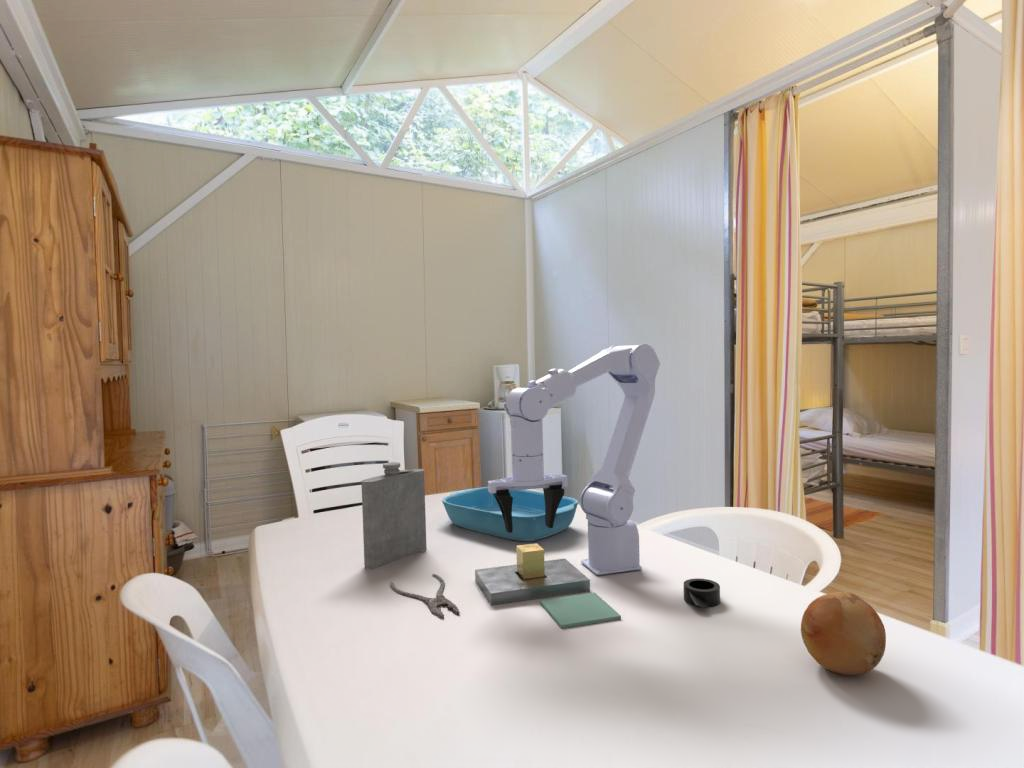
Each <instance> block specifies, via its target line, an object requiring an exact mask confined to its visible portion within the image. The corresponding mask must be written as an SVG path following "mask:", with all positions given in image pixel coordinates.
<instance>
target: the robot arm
mask: <svg viewBox="0 0 1024 768" xmlns="http://www.w3.org/2000/svg"><path fill="white" fill-rule="evenodd" d="M660 366H661V362H660V360H659V357H658V355H657V353H656V350H655V348H654V347H652V346H651V345H650V344H648V343H640V344H633V345H632V344H631V345H629V344H627V345H618V344H617V345H616V344H615V345H611V346H609V347H608V348H604V349H601V351H600V352H598V353H597V354H595V355H593V356H591V357H590V358H588V359H586V360H584V361H583V362H581V363H580V364H578V365H575V367H573V368H571V369H569V370H568V371H567V370H565V369H563V368H551V369H549V370H547V372H548V374H546V375H545V376H542V377H541V378H538V379H536V380H535V379H534V380H533V379H532V380H530V381H528V382H527V386H526V387H516V388H513V389H512V390H511V391H510V392H509V394H507V397H506V399H505V402H504V403H503V408H504V411H505V413H506V414H507V416H508V418H509V425H510V442H511V443H510V446H511V447H510V449H511V477H504V478H501V479H493V480H488V481H487V487H488V492H489V493H491V494H492V493H493V495H494V497H495V499H496V501H497V503H498V505H499V507H500V510H501V513H502V516H503V519H504V523H505V528H506V531H507V532H508V533H512V531H513V525H512V502H513V497H512V496H510V493H509V491H515V490H536V489H537V490H538V489H542V491H543V493H544V498H545V522H546V526H547V527H549V528H553V524H554V519H555V515H556V512H557V509H558V506H559V504H560V501H561V499H562V498H563V496H565V489H564V488H568V486H569V481H568V480H569V479H568V475H565V474H563V473H562V474H545V473H544V472H545V470H544V469H545V468H544V462H545V461H544V436H543V435H544V431H543V420H544V418H545V417H546V416H547V415H548V411H549V410H550V409H552V408H554V407H556V406H558V405H560V404H561V403H563V402H565V401H566V400H568V399H570V398H572V397H574V396H575V395H576V392H577V388H578V387H579V386H581V385H583V384H585V383H588V382H590V381H592V380H594V379H596V378H598V377H601V376H602V375H604V374H608V375H609V376H610V377H611V378H612V379H613V380H614V382H615V384H617V385H618V386H619V387H620V389H621V390H622V392H623V394H624V398H623V400H622V404H621V406H620V407H621V408H620V410H619V413H618V417H617V420H616V422H615V426H614V429H613V432H612V435H611V438H610V441H609V444H608V446H607V450H606V453H605V456H604V460H603V463H602V466H601V469H599V470H598V471H597V472H595V473H594V474H593V475H591V476H590V479H589V481H588V483H587V485H586V486H585V487H584V488H583V490H582V492H581V493H580V496H579V505H580V508H581V510H582V511H583V513H584V514H585V519H586V520H587V545H588V546H587V548H588V549H587V550H588V558H586V559H581V560H580V562H581V563H582V564H583V566H585V567H587V568H588V570H590V571H591V572H593V574H595V575H596V576H602V575H608V574H610V575H611V574H616V573H623V572H624V573H625V572H630V571H631V572H632V571H637V570H638V571H639V570H642V566H641V565H640V564H641V563H640V533H639V529H638V526H637V524H636V523H635V521H634V520H632V519H630V518H631V517H632V514H633V513H634V512H633V511H634V496H635V492H636V490H635V487H634V486H633V484H632V482H631V480H630V479H629V477H630V473H631V471H632V467H633V464H634V462H635V461H634V460H635V457H636V455H637V451H638V449H639V445H640V443H641V439H642V436H643V433H644V429H645V427H646V424H647V420H648V417H649V414H650V411H651V408H652V405H653V401H654V399H655V395H656V378H657V374H658V372H659V369H660Z"/></svg>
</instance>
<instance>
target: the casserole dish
mask: <svg viewBox="0 0 1024 768" xmlns="http://www.w3.org/2000/svg"><path fill="white" fill-rule="evenodd" d="M509 493H510V496H512V497H513V502H512V525H513V531H512V533H508V532H507V531H506V528H505V523H504V519H503V516H502V513H501V510H500V507H499V505H498V503H497V501H496V499H495V497H494V495H493V493H492V494H491V493H489V492H488V486H483V487H476V488H467V489H462V490H459V491H455V492H451V493H450V494H449V495H447V496H445V497H443V498H442V499H441V502H442V504H443V506H444V510H445V511H446V514H447V516H448V518H449V520H450V521H451V523H453V525H455V526H458V527H460V528H463V529H467V530H470V531H473V530H474V532H478V533H482V534H486V535H489V534H490V536H493V535H494V536H493V537H497V536H498V538H503V539H508V540H510V541H517V542H535V541H539V540H541V539H545V538H548V537H551V536H553V535H556V534H558V533H561V532H563V531H565V530H567V528H568V527H570V525H571V524H572V522H573V520H574V518H575V514H576V511H577V508H578V504H579V500H578V499H576V498H573V497H569V496H565V495H564V496H563V498H562V499H561V501H560V504H559V506H558V509H557V512H556V515H555V519H554V524H553V528H549V527H547V526H546V522H545V498H544V491H543V492H542V491H535V490H532V489H526V490H515V491H509Z"/></svg>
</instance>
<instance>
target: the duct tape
mask: <svg viewBox="0 0 1024 768" xmlns="http://www.w3.org/2000/svg"><path fill="white" fill-rule="evenodd" d="M683 601H684V602H685V603H686V604H687V605H691V606H693V607H696V608H697V607H698V608H703V609H707V610H709V609H710V608H714V607H717V606H719V605H720V604H721V585H720V584H719V583H718V582H717V581H715V580H711V579H707V578H700V577H699V578H696V577H695V578H689V579H686V580H684V581H683Z"/></svg>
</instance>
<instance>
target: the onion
mask: <svg viewBox="0 0 1024 768" xmlns="http://www.w3.org/2000/svg"><path fill="white" fill-rule="evenodd" d="M800 633H801V639H802V642H803V643H804V646H805V648H806V650H807V653H809V655H810V656H811V657H812V658H813V659H814V660H815V661H816V663H818V664H819V665H820V667H823V668H824V669H826V670H828V671H829V672H833V673H834V674H837V675H838V674H839V675H843V676H851V675H852V676H853V675H855V676H856V675H863V674H866V673H869V672H870V671H871V670H874V669H875V668H876V667H877V666H878V665H879V664H880V662H882V659H883V656H884V654H885V651H886V642H887V636H886V635H887V634H886V629H885V624H884V622H883V621H882V619H881V617H880V615H879V614H878V612H877V611H876V609H874V607H873V606H872V605H871V604H869V602H867V601H866V600H864V599H863V598H861V597H860V596H859V595H857V594H855V593H852V592H848V591H837V592H836V591H835V592H830V593H829V592H828V593H825V594H823V595H821V596H819V597H817V598H814V599H813V600H812V601H811V602H810V603H809V604H808V606H806V609H805V611H804V612H803V614H802V618H801V623H800Z"/></svg>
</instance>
